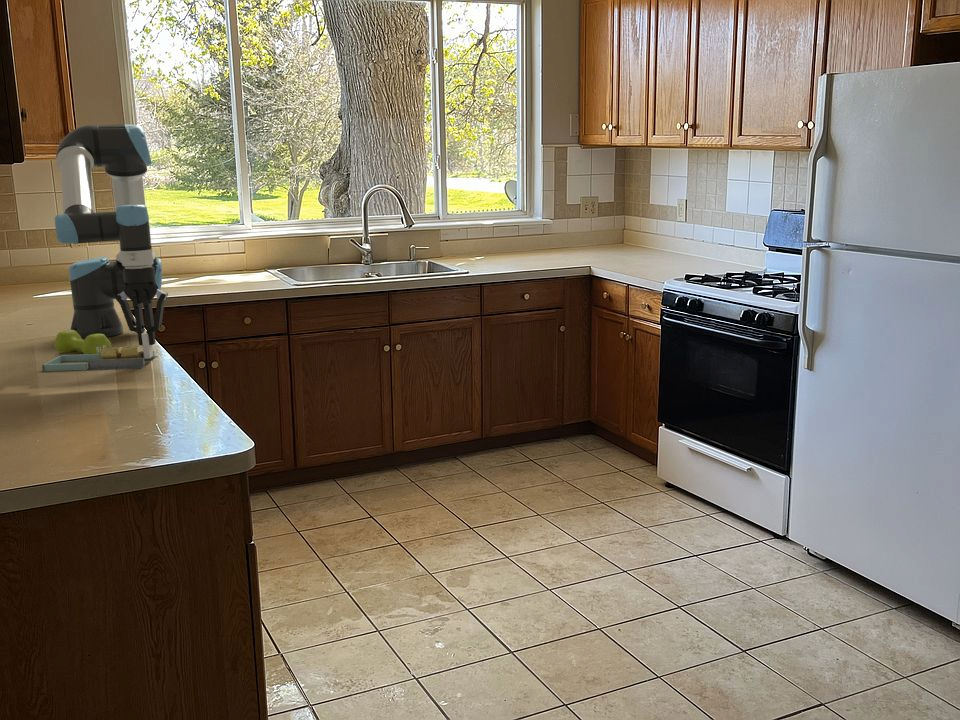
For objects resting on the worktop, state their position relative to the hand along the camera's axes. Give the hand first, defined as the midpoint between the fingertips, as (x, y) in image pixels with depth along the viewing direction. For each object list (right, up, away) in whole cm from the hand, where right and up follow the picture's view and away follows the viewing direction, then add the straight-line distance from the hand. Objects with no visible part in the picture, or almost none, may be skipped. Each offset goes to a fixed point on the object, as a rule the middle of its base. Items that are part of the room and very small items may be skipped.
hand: (148, 357), depth 239 cm
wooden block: (-9, -2, 0) cm, 10 cm away
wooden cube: (-4, -1, 0) cm, 5 cm away
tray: (-19, -3, 0) cm, 20 cm away
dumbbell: (-23, 0, +16) cm, 28 cm away
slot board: (-7, -3, 0) cm, 8 cm away
